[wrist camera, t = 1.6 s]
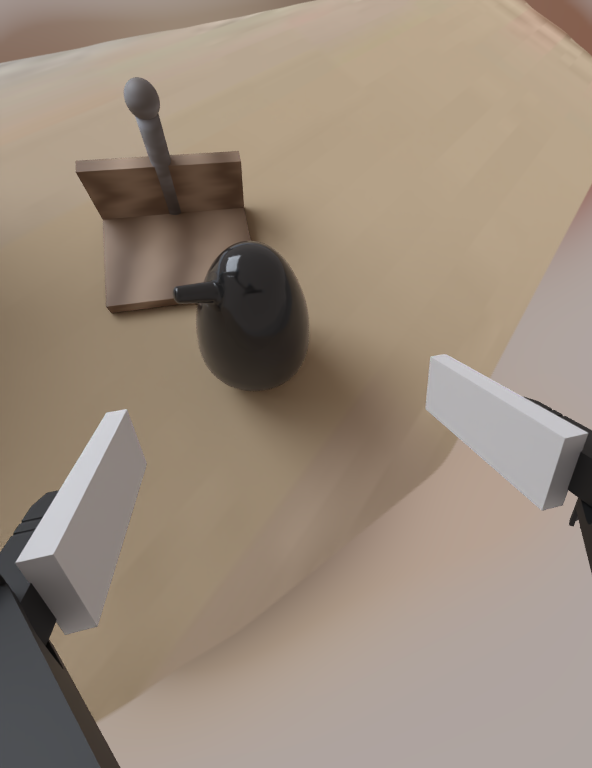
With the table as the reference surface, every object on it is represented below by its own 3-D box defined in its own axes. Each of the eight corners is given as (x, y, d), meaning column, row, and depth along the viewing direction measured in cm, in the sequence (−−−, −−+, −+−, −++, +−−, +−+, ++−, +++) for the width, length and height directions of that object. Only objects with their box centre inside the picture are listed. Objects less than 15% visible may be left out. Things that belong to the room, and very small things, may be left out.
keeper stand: (111, 312, 35) (22, 202, 22) (106, 213, 40) (29, 71, 26) (260, 293, 38) (259, 184, 25) (241, 202, 42) (231, 67, 29)
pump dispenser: (189, 334, 35) (139, 220, 21) (278, 301, 38) (287, 179, 23) (226, 419, 33) (198, 356, 18) (319, 378, 35) (358, 294, 21)
